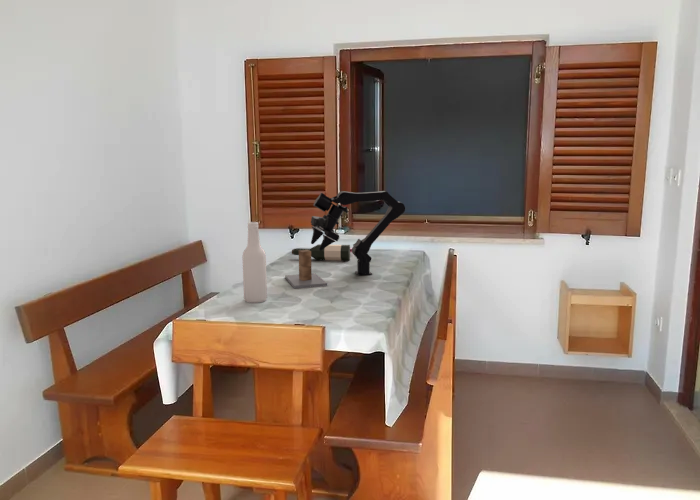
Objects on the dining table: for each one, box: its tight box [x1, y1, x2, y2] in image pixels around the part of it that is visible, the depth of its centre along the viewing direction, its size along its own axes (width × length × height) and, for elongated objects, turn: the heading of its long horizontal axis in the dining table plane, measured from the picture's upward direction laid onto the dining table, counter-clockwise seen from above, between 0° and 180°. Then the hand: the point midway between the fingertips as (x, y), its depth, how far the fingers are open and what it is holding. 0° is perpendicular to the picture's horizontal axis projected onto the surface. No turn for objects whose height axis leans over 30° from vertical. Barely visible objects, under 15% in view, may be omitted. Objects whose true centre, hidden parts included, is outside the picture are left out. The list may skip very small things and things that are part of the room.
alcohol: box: [241, 221, 268, 304], centre depth 216 cm, size 9×9×30 cm
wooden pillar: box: [298, 250, 312, 281], centre depth 246 cm, size 4×4×12 cm
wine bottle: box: [291, 243, 351, 262], centre depth 295 cm, size 8×8×30 cm
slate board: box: [284, 272, 328, 289], centre depth 247 cm, size 20×14×1 cm
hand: (315, 246), depth 256 cm, fingers open, 9 cm apart
